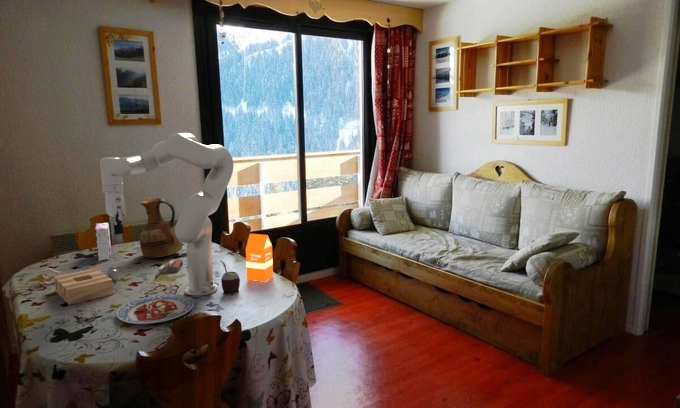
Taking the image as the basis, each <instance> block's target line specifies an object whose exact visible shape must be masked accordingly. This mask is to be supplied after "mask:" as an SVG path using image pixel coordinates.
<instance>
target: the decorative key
mask: <svg viewBox="0 0 680 408" xmlns="http://www.w3.org/2000/svg"><path fill="white" fill-rule="evenodd" d="M47 271H50V272H53V273H54V274H55V277H56V276H61V275H62V274H60V273H61V272H60V271H58V270H56V269H53V268H52V267H51V268H50V267H47V268H45V269H44V270H43V271H42V273H41V276H42V278H43V283H44V284H45V285H51V284H55V282H54V280H52V281H50V282H49V281H46V280H47V279H49V276H45V272H47ZM78 272H81V271H78ZM66 274H67V273H66V272H64V275H66Z"/></svg>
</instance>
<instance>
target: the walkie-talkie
mask: <svg viewBox="0 0 680 408" xmlns="http://www.w3.org/2000/svg"><path fill="white" fill-rule="evenodd" d="M183 261H184V260H183V259H180V258H179V259H177V258H175V259H174V258H173V259H170V260H168V261H167V262H166V263H165V264H163V265H160V267H159V268H158V269H157V272H156V274H155V276H154V277H155V278H158V277H159V275H160V274H161V273H162V274H167V273H168V274H169V273H171V272H172V273H179V271H180V270H181V268H182V267H183V266H184V265H183ZM182 265H183V266H182ZM172 273H171V274H172Z"/></svg>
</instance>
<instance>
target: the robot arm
mask: <svg viewBox="0 0 680 408" xmlns="http://www.w3.org/2000/svg"><path fill="white" fill-rule="evenodd" d="M178 160H181V161H182V162H185V163H188V164H190V165H192V166H195V167H197V168H200V169H203V170H208V169H210V171H209V173H208V174H207V176H206V178H205V180H204V183H203V185H202V187H201V189H200V190H199V191H198V192H197V193H194V194H192V195H191V196H189V197H188V199H187V200H186V201H185V203H184V205H183V208H182V210H181V212H180V214H179V217H178V219H177V222H176V224H175V226H174V227H175V235H176V237H177V239H178V240H179V241H180V242H182V244H186V260H187V261H186V263H187V275H188V276H187V279H188V286H186V287H185V289H184V292H185V294H186V295H188V296H192V297H193V296H194V297H197V296H206V295H210V294H213V293H215V292H217V290H218V285H217V284H216V283H214V276H213V275H214V272H213V270H214V269H213V258H212V257H213V256H212V255H213V254H212V235H213V233H212V232H213V225H212V220H211V219H210V218H209V216H211V215H213V214H214V213H215V212H217V210H218V209H219V207H220V204H221V201H222V199H223V197H224V195H225V192H226V189H227V188H228V186H229V183H230V181H231V178H232V176H233V173H234V166H235V165H234V160H233V156H232V154H231V152H229V150H228V149H227V148H226V147H225V146H223V145H221V144H209V145H206V144H202V143H200V142H199V141H198V138H197V137H196V135H194V134H192V133H189V132H179V133H178V132H177V133H173V134H171V135H170V136H169V137H168V138H167V139H165V140H162V141H160V142H158V143H155V144H154V145H153V147H152V148H151V149H150V150H148V151H146V152H143V153H140V154H137V155H133V156H132V155H131V156H126V157H116V156H107V157H102V158H100V161H99V165H100V175H101V176H100V177H101V185H102V186H101V187H102V193H103V194H104V199H105V200H104V201H105V203H104V204H105V210H106V215H108V217H109V219H110V216H112V217H114V223H115V225H114V233H115V235H117V234H123V235H124V225H123V224H124V222H123V220H124V217H126V216H127V210H126V204H125V196H124V193H123V192H125V190H124V179H123V177H124V178H128V177H133V176H137V175H142V174H144V173H147V172H150V171H152V170H155V169H157V168H160V167H163V166H165V165H168V164H169V163H172V162H175V161H178ZM116 215H118V217H116ZM116 218H118V219H117V221H116ZM109 230H111V221H110V220H109Z"/></svg>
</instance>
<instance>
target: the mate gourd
mask: <svg viewBox="0 0 680 408" xmlns="http://www.w3.org/2000/svg"><path fill="white" fill-rule="evenodd" d="M220 262H221V263H222V265H223V268H224V270H225V272H224V274H223V275H222V276H221V279H220V282H221V288H222V291H223V293H222V294H223V295H228V294H230V296H234V294H235V292H236V293H240V290H239V289H240V283H241V282H240V281H241V279H240V275H239V274H238V273H237V272H235V271H228V270H227V266H226V263H225V262H224V261H223V260H220Z"/></svg>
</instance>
